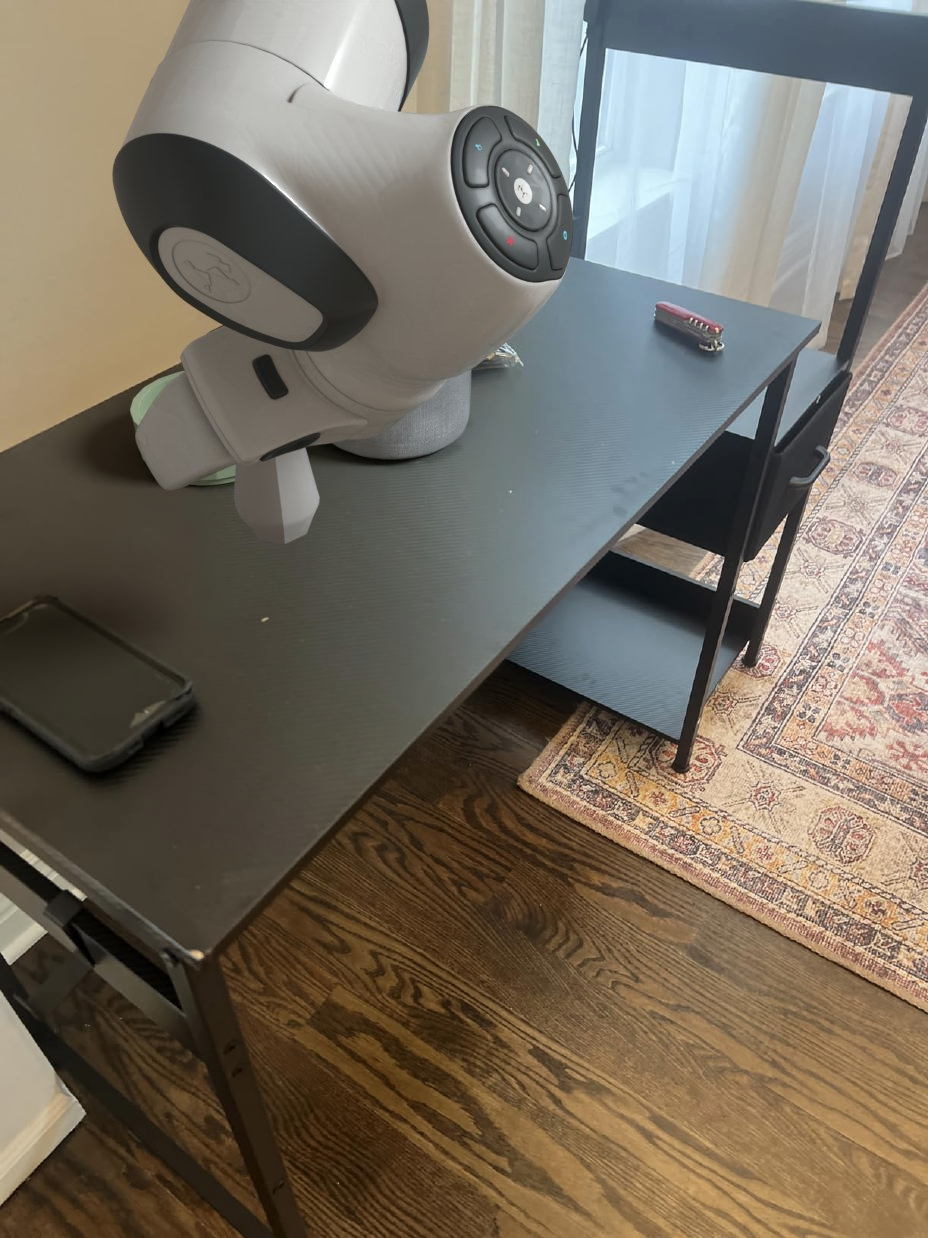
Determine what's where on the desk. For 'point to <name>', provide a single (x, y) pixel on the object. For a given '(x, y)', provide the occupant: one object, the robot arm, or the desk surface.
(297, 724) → the desk surface
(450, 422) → the planter
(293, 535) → the grey tapered column
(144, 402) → the bowl
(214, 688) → the desk surface
